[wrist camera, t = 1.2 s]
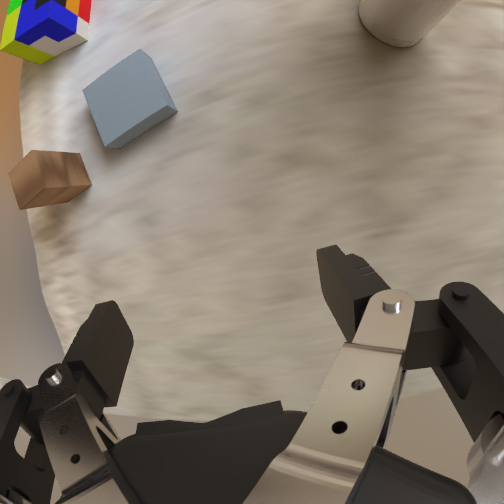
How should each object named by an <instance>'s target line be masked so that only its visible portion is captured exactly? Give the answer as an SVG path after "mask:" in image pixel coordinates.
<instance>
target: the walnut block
mask: <svg viewBox="0 0 504 504" xmlns="http://www.w3.org/2000/svg"><path fill="white" fill-rule="evenodd" d="M9 177H10V180H11V184H12V187H13V190H14V194H15V197H16V200H17V203H18V206H19V209H20V210H23V209H28V208H34V207H40V206H46V205H53V204H59V203H66V202H69V201H70V200H71V199H73V198H74V197H76V196H77V195H78V194H80V193H81V192H82V191H84V190H85V189H87V188H88V187H89V186H91V185H92V184H91V181H90V179H89V176H88V174H87V171H86V169H85V166H84V163H83V161H82V158H81V155H80V153H68V152H54V151H38V150H31V151H30V152H29V153H28V154H27V155H26V156H25V157H24V158H23V159H22V160H21V161H20V162H19V163H18V164H17V165H16V166H15V167H14V168H13V169H12V170H11V172H10V173H9Z"/></svg>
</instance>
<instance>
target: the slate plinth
mask: <svg viewBox="0 0 504 504" xmlns="http://www.w3.org/2000/svg"><path fill="white" fill-rule="evenodd" d="M83 93H84V95H85V98H86V101H87V103H88V106H89V109H90V111H91V114H92V117H93V119H94V122H95V124H96V127H97V129H98V132H99V134H100V137H101V139H102V141H103V144H104V146H105V147H110V148H117V149H120V148H121V147H123V146H124V145H126V144H127V143H129V142H130V141H132V140H133V139H135V138H136V137H138V136H139V135H141V134H142V133H144V132H145V131H147V130H148V129H150V128H152V127H153V126H155V125H156V124H158V123H160V122H161V121H163V120H165V119H166V118H168V117H170V116H171V115H173V114H175V113H176V112H178V111H177V109H176V107H175V105H174V103H173V101H172V99H171V97H170V95H169V93H168V91H167V89H166V87H165V85H164V82H163V80H162V78H161V76H160V74H159V72H158V70H157V68H156V66H155V64H154V62H153V60H152V58H150V57H149V56H148V55H147V54H146V53H145V52H143V51H142V50H141V49H139V50H137V51H136V52H134V53H133V54H131V55H130V56H128V57H127V58H125V59H124V60H122V61H121V62H119V63H118V64H116V65H115V66H114V67H112V68H111V69H110V70H108V71H107V72H105V73H104V74H103V75H101V76H100V77H99V78H97V79H96V80H95V81H94V82H92V83H91V84H90V85H88V86H87V87H86V88H85V89H83Z"/></svg>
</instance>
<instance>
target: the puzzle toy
mask: <svg viewBox="0 0 504 504" xmlns="http://www.w3.org/2000/svg"><path fill="white" fill-rule="evenodd" d="M90 9H91V0H11V1H10V5H9V9H8V12H7V17H6V21H5V25H4V30H3V35H2V40H1V45H0V51H3V52H6V53H9V54H11V55H14V56H17V57H20V58H23V59H26V60H28V61H31V62H34V63H37V64H39V65H41V64H43V63H44V62H46V61H48V60H50V59H52V58H53V57H55V56H57V55H59V54H61V53H63V52H65V51H67V50H69V49H71V48H73V47H75V46H77V45H79V44H81V43H84V42H86V41H88V33H89V20H90Z"/></svg>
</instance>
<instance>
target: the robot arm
mask: <svg viewBox="0 0 504 504" xmlns="http://www.w3.org/2000/svg"><path fill="white" fill-rule="evenodd" d="M460 1H461V0H361V2H360V4H359V16H360V19H361V21H362V23H363V25H364V26H365V27H366V29H367V30H368V31H369V32H370V33H371V34H372V35H373V36H375V37H376V38H378V39H379V40H381V41H383V42H385V43H387V44H389V45H392V46H397V47H409V46H413V45H415V44H417V43H418V42H419V41H420V40H421V39H422V38H423V37H424V36H425V35H426V34H427V33H428V32H429V31H430V30H431V29H432V28H433V27H434V26H435V25H436V24H438V23H439V22H440V21H441V20H442V19H443V18H444V17H445V16H446V15H447V14H448V13H449V12H450V11H451V10H452V9H453V8H454V7H455V6H456V5H457V4H458V3H459V2H460ZM317 261H318V268H319V274H320V281H321V288H322V292H323V296H324V298H325V301H326V303H327V305H328V306H329V308H330V310H331V312H332V314H333V316H334V318H335V319H336V321H337V323H338V325H339V327H340V329H341V331H342V333H343V334H344V336H345V338H346V340H347V342H345V343H344V344H343V345H342V347H341V349H340V351H339V353H338V355H337V357H336V359H335V361H334V363H333V365H332V367H331V369H330V371H329V373H328V375H327V377H326V379H325V381H324V383H323V385H322V387H321V389H320V391H319V393H318V395H317V396H316V398H315V400H314V402H313V404H312V406H311V408H310V409H309V411H308V412H302V411H283V408H282V405H281V401H280V400H279V401H275V402H271V403H266V404H262V405H257V406H253V407H248V408H243V409H240V410H238V411H235V412H233V413H230V414H228V415H225V416H223V417H220V418H218V419H215V420H212V421H210V422H207V423H194V422H183V421H174V420H165V421H155V422H143V423H138V424H137V430H136V434H133V435H131V436H128V437H126V438H124V439H122V440H121V439H120V437H119V436H118V434H117V432H116V431H115V429H114V428H113V426H112V424H111V422H110V421H109V419H108V417H107V416H106V415H105V413H104V412H103V409H104V407H114V406H117V402H118V398H119V394H120V391H121V387H122V383H123V379H124V376H125V372H126V369H127V365H128V362H129V358H130V355H131V352H132V348H133V343H134V341H133V335H132V332H131V330H130V328H129V326H128V324H127V322H126V321H125V319H124V317H123V315H122V313H121V311H120V309H119V307H118V305H117V304H116V302H115V301H107V302H103V303H99V304H96V305H95V307H94V309H93V310H92V312H91V314H90V316H89V318H88V319H87V320H86V321H85V322H84V323H83V324H82V325H81V327H80V328H79V330H78V332H77V334H76V336H75V338H74V340H73V343H72V344H71V346H70V348H69V350H68V352H67V354H66V356H65V358H64V360H63V362H62V363H58V364H54V365H52V366H51V367H49V368H47V369H46V370H45V371H44V372H43V373H42V375H41V376H40V378H39V381H38V385H36V386H34V387H31V388H28V389H27V388H26V386H25V385H24V384H23V383H22V382H21V380H18V379H15V380H12V381H10V382H8V383H7V384H5V385H4V386H3V388H2V389H1V390H0V504H50V499H51V493H52V488H53V483H54V479H55V476H56V478H57V481H58V484H59V487H60V489H61V492H62V496H61V497H60V499H59V500H58V501H57V502H56V503H55V504H504V314H503V313H502V312H501V311H500V310H499V309H498V308H497V307H496V306H495V305H494V304H493V303H492V302H491V301H490V300H489V299H488V298H487V297H486V296H485V295H484V294H483V293H482V292H481V291H480V290H479V289H478V288H476V287H475V286H473V285H472V284H469V283H465V282H452V283H449V284H446V285H445V286H443V287H442V289H441V290H440V295H439V299H435V300H426V301H414V298H413V297H412V296H411V295H410V294H409V293H407V292H405V291H402V290H397V289H391V288H390V287H389V286H388V285H387V284H386V283H385V282H384V280H383V279H382V278H381V277H380V276H379V275H378V274H377V273H376V272H375V270H374V269H373V268H372V267H371V266H369V264H368V263H367V262H366V261H365V260H364V259H363V258H362V257H359V256H357V255H355V254H349V255H345V254H344V253H343V252H342V251H341V249H340V248H339V247H338V246H337V245H332V246H329V247H325V248H321V249H317ZM428 367H432V369H433V371H434V372H435V374H436V376H437V377H438V379H439V381H440V382H441V384H442V386H443V387H444V389H445V390H446V392H447V394H448V396H449V398H450V399H451V401H452V403H453V405H454V406H455V408H456V410H457V412H458V413H459V415H460V417H461V419H462V421H463V422H464V424H465V426H466V428H467V430H468V432H469V434H470V436H471V438H472V439H473V441H474V444H473V446H472V447H471V449H470V451H469V453H468V458H467V466H468V469H469V474H470V479H469V484H468V487H467V488H466V487H465V486H463V485H462V484H460V483H459V482H457V481H455V480H453V479H451V478H448V477H445V476H443V475H441V474H438V473H436V472H433V471H431V470H429V469H427V468H424V467H422V466H420V465H417V464H415V463H413V462H411V461H409V460H406V459H404V458H402V457H400V456H398V455H396V454H394V453H392V452H389V451H388V450H385V449H384V448H385V445H386V442H387V440H388V436H389V433H390V430H391V427H392V423H393V419H394V415H395V412H396V409H397V405H398V402H399V399H400V395H401V392H402V388H403V384H404V381H405V377H406V373H407V370H412V369H420V368H428ZM19 426H21V427H22V428H23V429H24V430H25V431H26V432H27V433H28V434H29V435H30V436H31V439H30V442H29V445H28V449H27V452H26V455H25V458H23V457H21V456H20V455H19V454H18V453H17V451H16V449H15V446H14V440H15V437H16V434H17V432H18V429H19Z"/></svg>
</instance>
